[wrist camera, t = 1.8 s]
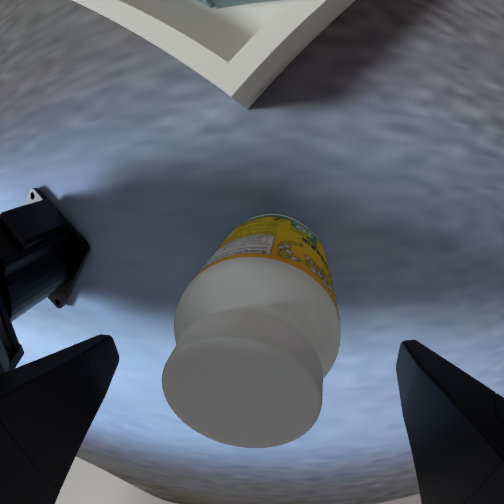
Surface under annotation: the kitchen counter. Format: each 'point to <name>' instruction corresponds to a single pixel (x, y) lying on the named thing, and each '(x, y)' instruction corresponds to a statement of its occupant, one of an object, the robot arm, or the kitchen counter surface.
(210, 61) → the socket box
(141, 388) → the kitchen counter surface
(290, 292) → the supplement bottle
